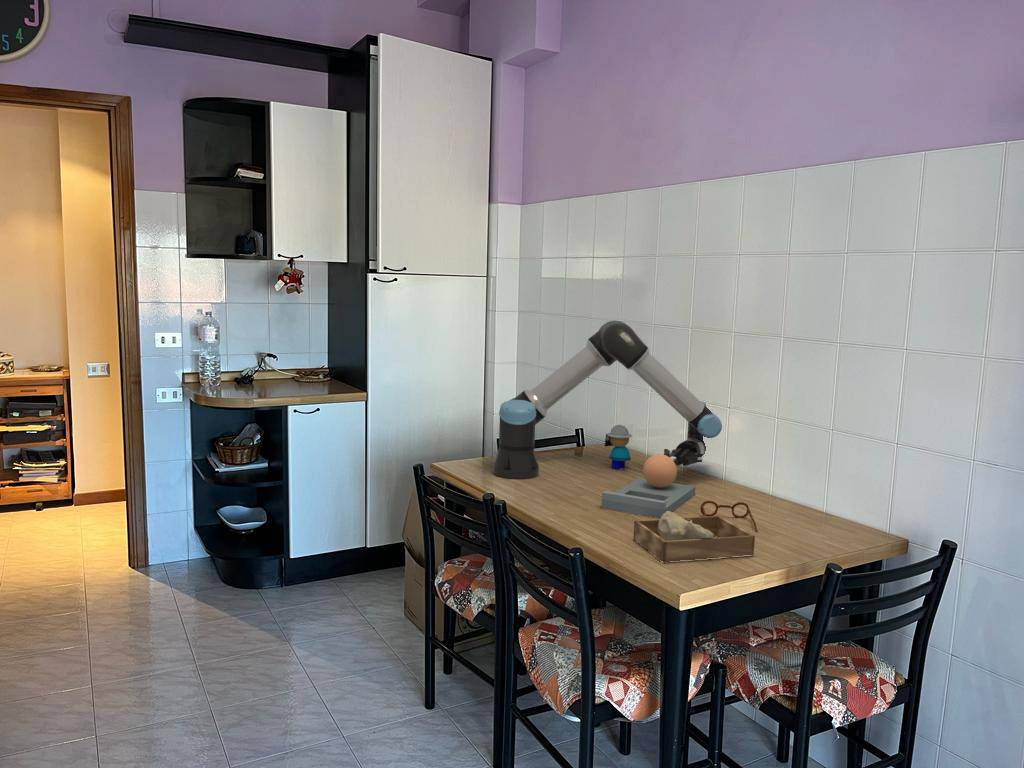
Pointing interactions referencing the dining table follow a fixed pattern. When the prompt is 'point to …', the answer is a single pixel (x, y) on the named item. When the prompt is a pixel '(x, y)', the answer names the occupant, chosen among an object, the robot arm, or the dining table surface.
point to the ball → (660, 471)
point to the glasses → (728, 507)
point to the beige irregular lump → (680, 528)
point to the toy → (618, 446)
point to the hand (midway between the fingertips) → (667, 464)
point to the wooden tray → (696, 540)
